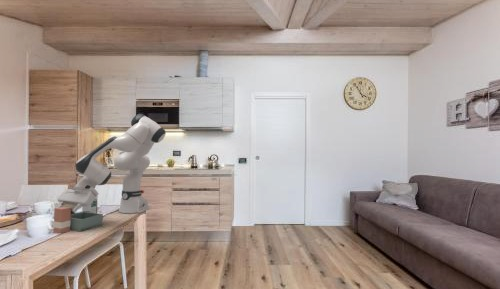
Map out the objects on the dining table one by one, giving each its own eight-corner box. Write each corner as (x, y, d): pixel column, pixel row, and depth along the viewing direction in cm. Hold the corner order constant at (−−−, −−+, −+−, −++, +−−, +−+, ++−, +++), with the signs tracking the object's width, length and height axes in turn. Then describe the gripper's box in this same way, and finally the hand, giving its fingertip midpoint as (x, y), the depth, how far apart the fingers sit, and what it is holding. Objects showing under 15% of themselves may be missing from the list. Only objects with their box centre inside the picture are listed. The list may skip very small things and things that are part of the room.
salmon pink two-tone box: (62, 229, 149) (63, 206, 149) (70, 231, 147) (71, 207, 147) (53, 232, 144) (54, 208, 144) (60, 233, 142) (61, 209, 142)
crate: (83, 222, 164) (83, 211, 164) (102, 224, 160) (102, 214, 160) (60, 228, 151) (60, 216, 151) (80, 231, 147) (81, 219, 147)
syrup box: (90, 220, 168) (91, 195, 169) (81, 219, 170) (82, 195, 170) (97, 218, 174) (98, 194, 174) (88, 217, 175) (89, 193, 175)
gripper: (65, 184, 157) (47, 205, 148) (94, 187, 151) (77, 209, 142) (72, 191, 162) (55, 212, 152) (101, 194, 155) (84, 216, 146)
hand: (66, 210), depth 147 cm, fingers open, 8 cm apart
